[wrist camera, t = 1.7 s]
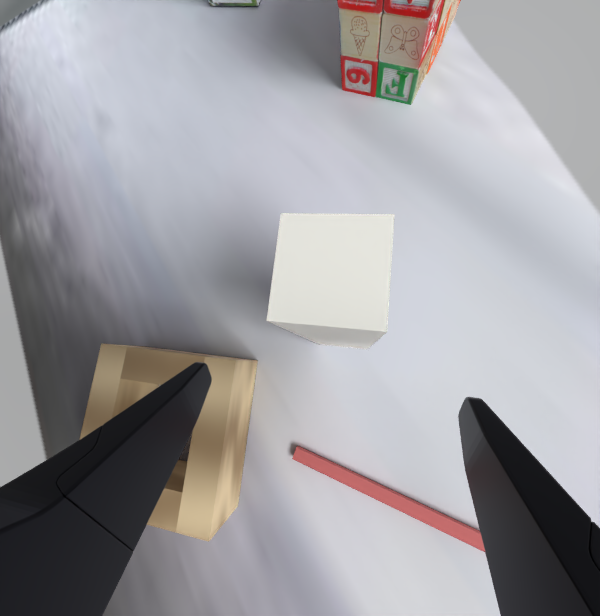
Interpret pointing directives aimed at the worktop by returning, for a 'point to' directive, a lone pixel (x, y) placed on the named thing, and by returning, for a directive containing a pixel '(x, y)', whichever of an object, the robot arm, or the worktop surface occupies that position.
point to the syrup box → (234, 2)
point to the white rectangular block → (333, 277)
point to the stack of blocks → (391, 44)
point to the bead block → (205, 437)
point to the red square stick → (391, 498)
